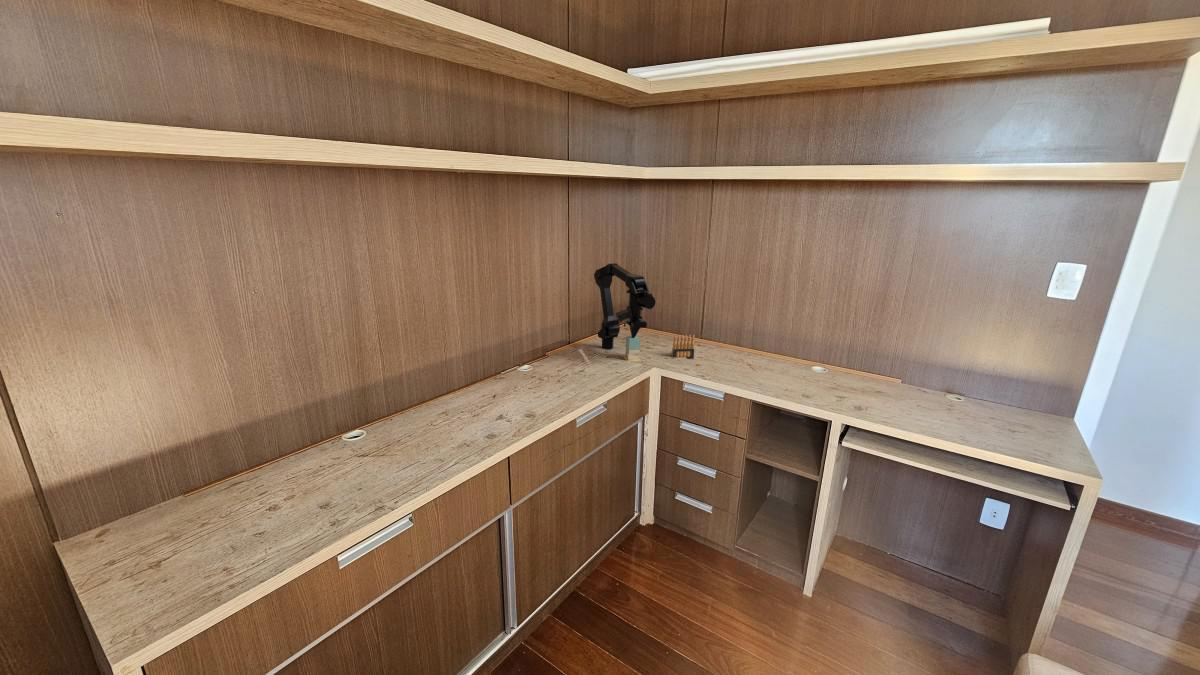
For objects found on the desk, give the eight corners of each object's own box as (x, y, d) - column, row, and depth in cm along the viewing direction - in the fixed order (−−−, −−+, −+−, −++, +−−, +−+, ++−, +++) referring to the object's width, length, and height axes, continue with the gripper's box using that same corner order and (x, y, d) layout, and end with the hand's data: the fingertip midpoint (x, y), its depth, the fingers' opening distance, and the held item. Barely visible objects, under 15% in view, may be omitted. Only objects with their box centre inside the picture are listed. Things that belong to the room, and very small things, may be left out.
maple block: (625, 357, 231) (625, 346, 230) (635, 356, 232) (636, 346, 231) (628, 360, 227) (629, 350, 225) (638, 360, 228) (639, 349, 226)
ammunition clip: (672, 359, 234) (674, 335, 230) (670, 358, 236) (673, 334, 232) (693, 358, 236) (696, 334, 232) (692, 357, 238) (694, 333, 234)
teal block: (625, 346, 230) (626, 336, 228) (636, 346, 231) (636, 336, 229) (628, 350, 225) (629, 339, 224) (639, 349, 226) (640, 339, 225)
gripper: (612, 300, 229) (610, 332, 233) (623, 309, 211) (621, 344, 216) (635, 299, 231) (633, 332, 236) (648, 309, 214) (646, 343, 219)
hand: (633, 337), depth 227 cm, fingers closed, pressing on teal block
